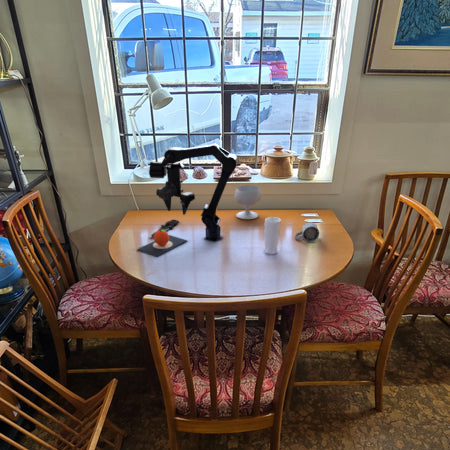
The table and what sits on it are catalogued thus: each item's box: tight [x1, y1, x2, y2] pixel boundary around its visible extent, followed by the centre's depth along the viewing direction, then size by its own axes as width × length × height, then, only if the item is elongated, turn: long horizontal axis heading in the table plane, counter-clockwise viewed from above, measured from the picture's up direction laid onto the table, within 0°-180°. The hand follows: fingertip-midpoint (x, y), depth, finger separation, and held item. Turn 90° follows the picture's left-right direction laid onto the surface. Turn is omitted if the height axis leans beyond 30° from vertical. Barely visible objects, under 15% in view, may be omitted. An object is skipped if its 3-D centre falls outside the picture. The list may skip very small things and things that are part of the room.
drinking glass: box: [263, 216, 282, 255], centre depth 159 cm, size 7×7×15 cm
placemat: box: [137, 234, 188, 258], centre depth 169 cm, size 12×20×1 cm, turn 145°
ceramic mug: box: [294, 222, 320, 243], centre depth 173 cm, size 11×8×8 cm
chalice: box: [234, 185, 262, 220], centre depth 197 cm, size 14×14×15 cm
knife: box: [150, 219, 180, 240], centre depth 184 cm, size 25×6×1 cm, turn 154°
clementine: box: [153, 229, 170, 245], centre depth 167 cm, size 8×7×7 cm
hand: (176, 212), depth 171 cm, fingers open, 9 cm apart
